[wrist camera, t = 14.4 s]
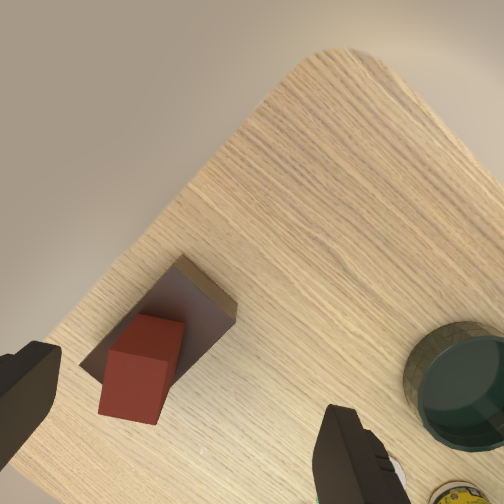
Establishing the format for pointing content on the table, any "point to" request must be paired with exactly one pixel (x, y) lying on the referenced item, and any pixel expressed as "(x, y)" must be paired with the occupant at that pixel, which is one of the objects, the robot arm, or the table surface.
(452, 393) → the dark green round dish
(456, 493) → the pill bottle
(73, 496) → the table surface
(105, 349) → the block
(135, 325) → the red rectangular block
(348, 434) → the robot arm
